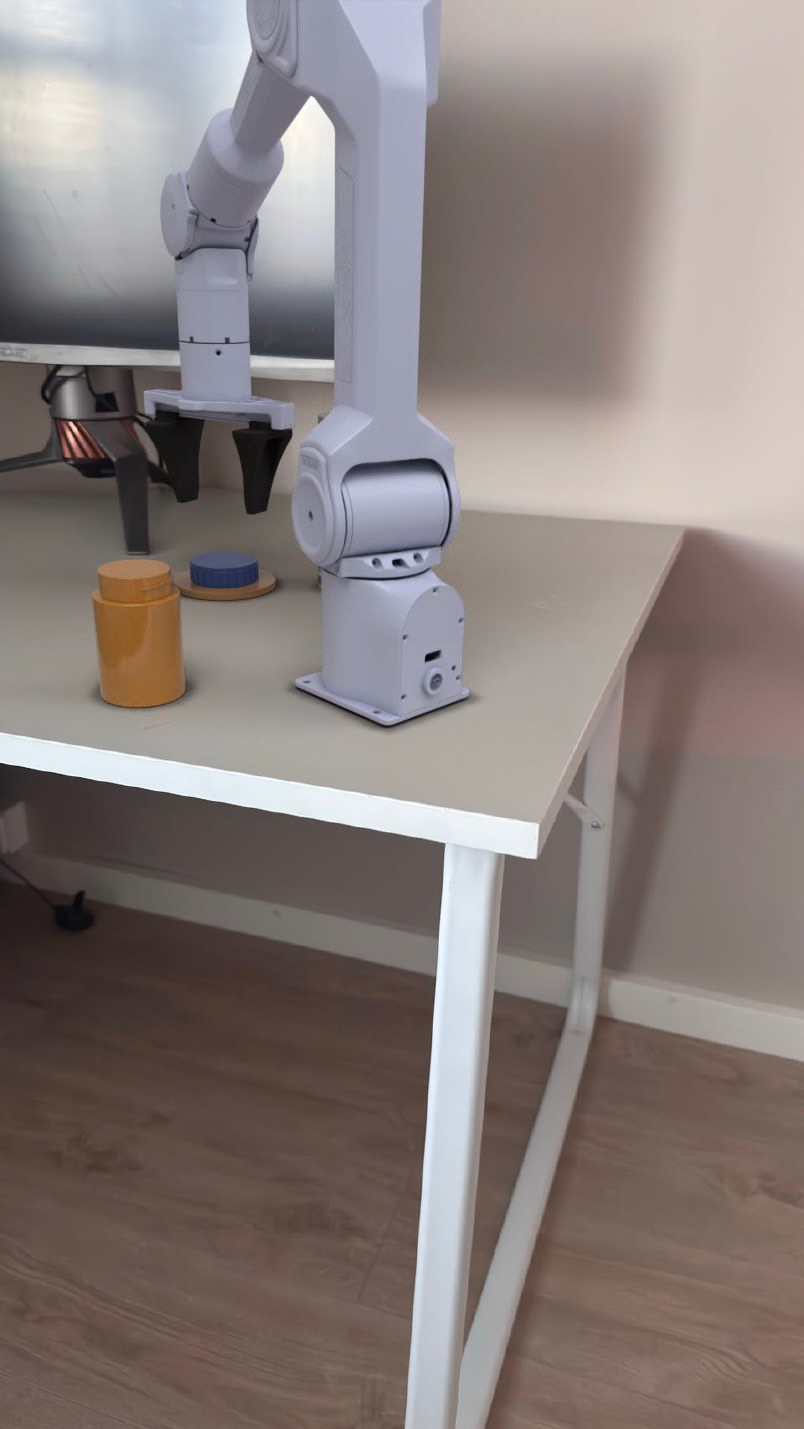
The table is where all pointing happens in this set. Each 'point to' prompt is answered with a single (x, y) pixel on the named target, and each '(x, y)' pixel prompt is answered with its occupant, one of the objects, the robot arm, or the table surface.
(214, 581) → the lid
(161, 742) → the table surface
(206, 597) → the coaster
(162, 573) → the jar
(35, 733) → the table surface
